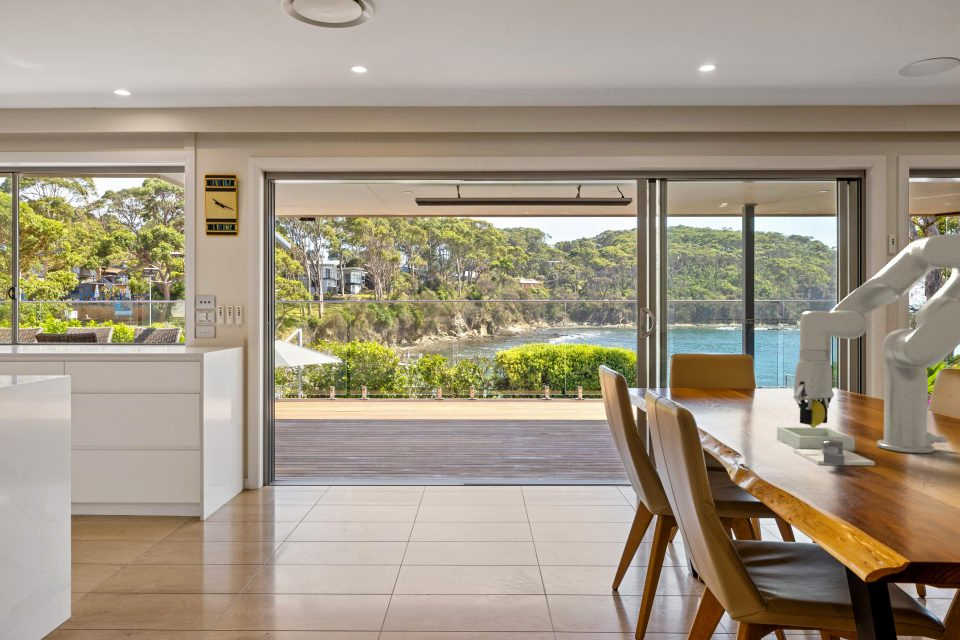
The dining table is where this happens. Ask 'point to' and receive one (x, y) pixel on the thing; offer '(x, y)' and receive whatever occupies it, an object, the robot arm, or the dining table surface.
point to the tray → (813, 437)
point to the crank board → (818, 458)
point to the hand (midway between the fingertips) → (813, 422)
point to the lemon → (817, 413)
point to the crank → (833, 452)
